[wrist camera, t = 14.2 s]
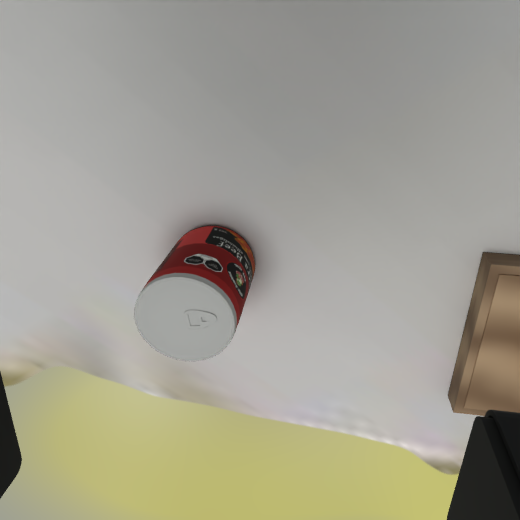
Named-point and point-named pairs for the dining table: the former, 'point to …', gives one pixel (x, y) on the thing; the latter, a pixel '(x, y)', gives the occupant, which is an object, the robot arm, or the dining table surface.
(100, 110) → the dining table surface
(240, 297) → the canned food
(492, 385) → the oak board
